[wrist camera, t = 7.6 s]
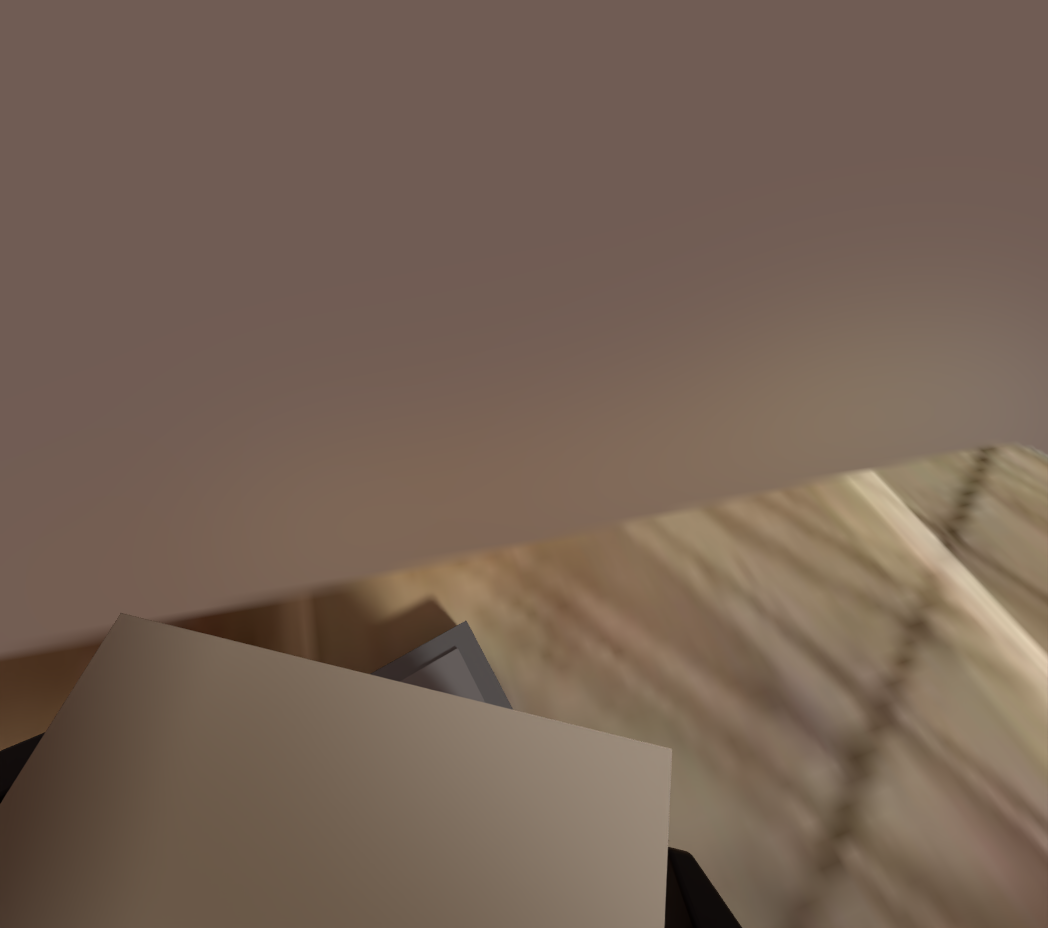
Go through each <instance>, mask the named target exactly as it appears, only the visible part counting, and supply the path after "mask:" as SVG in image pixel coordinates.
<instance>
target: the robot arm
mask: <svg viewBox="0 0 1048 928" xmlns="http://www.w3.org/2000/svg"><path fill="white" fill-rule="evenodd" d="M44 734H45V733H42V734H40V735H38V736H35V737H33V738H30V739H28V740H26V741H23V742H21V743H18V744H16V745H14V746H11V747H9V748H6V749H4V750H2V751H0V804H1V802H2V800H3V799H4V797H5V796H6V794H7V792H8V791H9V789H10V788H11V786H12V785H13V783H14V781H15V780H16V778H17V777H18V775H19V773H20V772H21V770H22V769H23V767H24V766H25V764H26V762H27V761H28V759H29V758H30V756H31V754H32V753H33V751H34V750H35V748H36V747H37V745H38V743H39V742H40V740H41V739H42V737H43V735H44ZM664 928H742V927H741V925H740V924H739V922H738V921H737V920H736V918H735V917H734V915H733V914H732V912H731V911H730V909H729V908H728V906H727V905H726V904H725V902H724V901H723V899H722V898H721V896H720V895H719V893H718V892H717V890H716V889H715V888H714V886H713V885H712V883H711V882H710V880H709V879H708V877H707V876H706V874H705V873H704V872H703V870H702V869H701V867H700V866H699V864H698V863H697V861H696V860H695V858H694V857H693V856H692V855H691V854H690V853H689V852H687V851H683V850H679V849H675V848H671V847H668V855H667V878H666V901H665V925H664Z"/></svg>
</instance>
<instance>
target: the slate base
mask: <svg viewBox="0 0 1048 928" xmlns="http://www.w3.org/2000/svg"><path fill="white" fill-rule="evenodd" d="M370 675H374V676H378V677H382V678H386V679H390V680H394V681H399V682H403V683H407V684H411V685H415V686H419V687H423V688H427V689H431V690H435V691H439V692H443V693H447V694H451V695H455V696H459V697H463V698H467V699H471V700H476V701H480V702H484V703H488V704H492V705H496V706H500V707H504V708H508V709H512V707H511V705H510V703H509V701H508V699H507V697H506V695H505V693H504V691H503V690H502V688H501V686H500V684H499V682H498V680H497V678H496V676H495V674H494V672H493V670H492V669H491V667H490V665H489V663H488V661H487V659H486V657H485V655H484V653H483V651H482V649H481V648H480V646H479V644H478V642H477V640H476V638H475V636H474V634H473V632H472V630H471V629H470V627H469V625H468V623H467V621H464V622H463V623H461V624H459V625H457V626H456V627H454V628H452V629H450V630H448V631H447V632H445V633H443V634H441V635H439V636H438V637H436V638H434V639H432V640H430V641H429V642H427V643H425V644H423V645H421V646H420V647H418V648H416V649H414V650H412V651H411V652H409V653H407V654H405V655H403V656H402V657H400V658H398V659H396V660H394V661H393V662H391V663H389V664H387V665H385V666H384V667H382V668H380V669H378V670H376V671H375V672H373V673H371V674H370ZM512 710H513V709H512Z"/></svg>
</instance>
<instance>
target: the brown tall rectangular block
mask: <svg viewBox="0 0 1048 928" xmlns="http://www.w3.org/2000/svg"><path fill="white" fill-rule="evenodd" d="M671 762H672V749H670V748H666V747H662V746H658V745H654V744H650V743H646V742H642V741H638V740H634V739H630V738H625V737H621V736H617V735H613V734H609V733H605V732H601V731H597V730H593V729H589V728H585V727H581V726H577V725H573V724H569V723H565V722H561V721H557V720H553V719H548V718H544V717H540V716H536V715H532V714H528V713H524V712H520V711H516V710H512V709H508V708H504V707H500V706H496V705H492V704H488V703H484V702H480V701H476V700H471V699H467V698H463V697H459V696H455V695H451V694H447V693H443V692H439V691H435V690H431V689H427V688H423V687H419V686H415V685H411V684H407V683H403V682H399V681H394V680H390V679H386V678H382V677H378V676H374V675H370V674H366V673H362V672H358V671H354V670H350V669H346V668H342V667H338V666H334V665H330V664H326V663H322V662H317V661H313V660H309V659H305V658H301V657H297V656H293V655H289V654H285V653H281V652H277V651H273V650H269V649H265V648H261V647H257V646H253V645H249V644H244V643H240V642H236V641H232V640H228V639H224V638H220V637H216V636H212V635H208V634H204V633H200V632H196V631H192V630H188V629H184V628H180V627H176V626H172V625H167V624H163V623H159V622H155V621H151V620H147V619H143V618H139V617H135V616H131V615H127V614H123V613H121V614H120V615H119V617H118V618H117V620H116V622H115V623H114V625H113V626H112V628H111V629H110V631H109V633H108V634H107V636H106V637H105V639H104V640H103V642H102V644H101V645H100V647H99V648H98V650H97V652H96V653H95V655H94V656H93V658H92V659H91V661H90V663H89V664H88V666H87V667H86V669H85V671H84V672H83V674H82V675H81V677H80V678H79V680H78V682H77V683H76V685H75V686H74V688H73V690H72V691H71V693H70V694H69V696H68V697H67V699H66V701H65V702H64V704H63V705H62V707H61V709H60V710H59V712H58V713H57V715H56V716H55V718H54V720H53V721H52V723H51V724H50V726H49V728H48V729H47V731H46V732H45V734H44V735H43V737H42V739H41V740H40V742H39V743H38V745H37V747H36V748H35V750H34V751H33V753H32V754H31V756H30V758H29V759H28V761H27V762H26V764H25V766H24V767H23V769H22V770H21V772H20V773H19V775H18V777H17V778H16V780H15V781H14V783H13V785H12V786H11V788H10V789H9V791H8V792H7V794H6V796H5V797H4V799H3V800H2V802H1V804H0V928H664V925H665V901H666V878H667V855H668V832H669V809H670V785H671Z"/></svg>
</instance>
